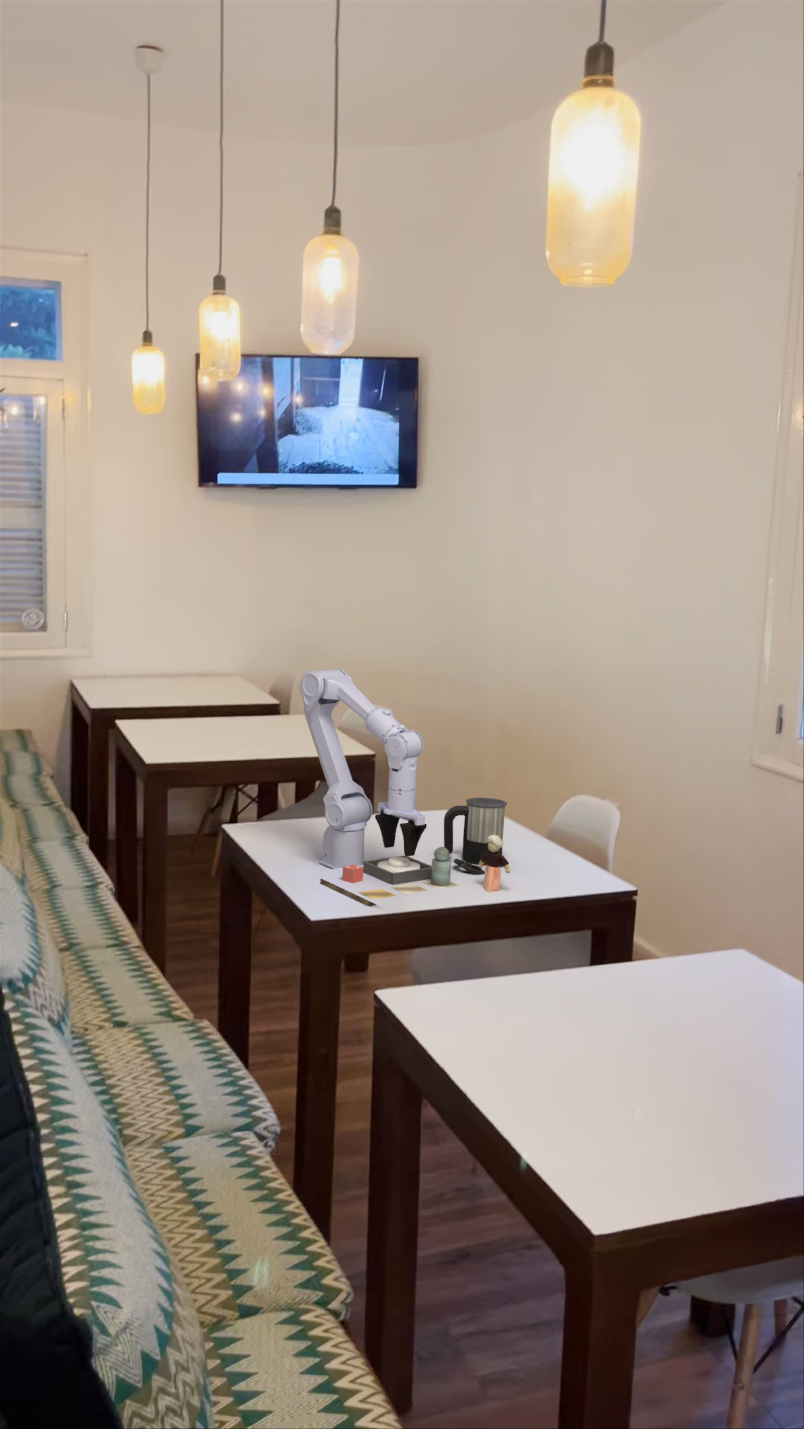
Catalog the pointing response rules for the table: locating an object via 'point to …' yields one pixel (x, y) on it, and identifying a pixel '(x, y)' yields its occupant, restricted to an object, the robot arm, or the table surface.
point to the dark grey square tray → (398, 877)
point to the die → (352, 874)
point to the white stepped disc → (398, 864)
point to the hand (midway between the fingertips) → (399, 851)
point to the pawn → (441, 867)
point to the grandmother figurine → (493, 864)
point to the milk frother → (475, 829)
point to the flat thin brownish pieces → (382, 891)
